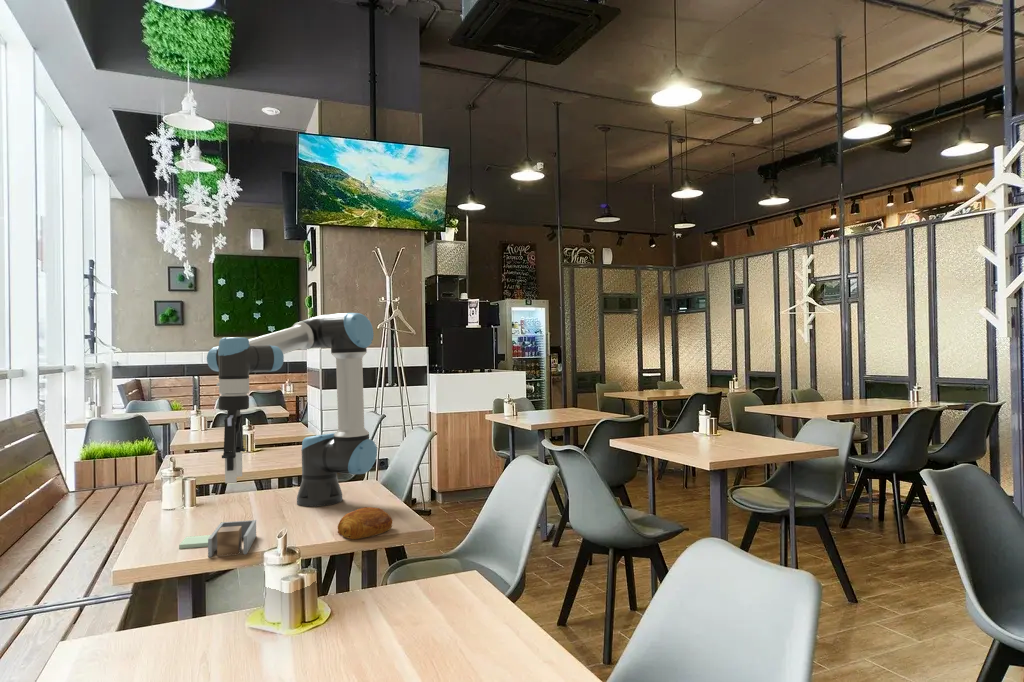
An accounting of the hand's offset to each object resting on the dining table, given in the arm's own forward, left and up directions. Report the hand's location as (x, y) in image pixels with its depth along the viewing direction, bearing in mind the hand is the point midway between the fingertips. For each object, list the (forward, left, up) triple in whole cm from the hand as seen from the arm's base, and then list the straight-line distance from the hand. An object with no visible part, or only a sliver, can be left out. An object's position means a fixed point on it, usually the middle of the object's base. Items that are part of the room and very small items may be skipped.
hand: (233, 479), depth 173 cm
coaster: (+9, -5, -17) cm, 20 cm away
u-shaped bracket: (0, +1, -17) cm, 17 cm away
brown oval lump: (-34, -3, -18) cm, 39 cm away
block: (0, +6, -17) cm, 19 cm away
